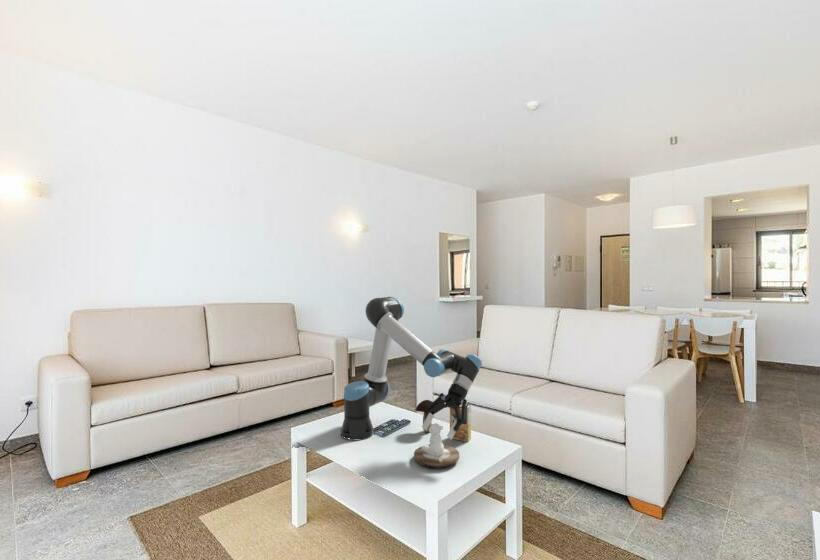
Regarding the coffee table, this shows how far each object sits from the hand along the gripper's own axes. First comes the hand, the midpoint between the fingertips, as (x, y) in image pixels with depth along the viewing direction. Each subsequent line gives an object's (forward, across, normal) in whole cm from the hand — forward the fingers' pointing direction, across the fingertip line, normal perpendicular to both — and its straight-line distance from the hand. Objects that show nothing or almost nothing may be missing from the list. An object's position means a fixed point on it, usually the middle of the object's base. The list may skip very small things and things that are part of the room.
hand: (436, 433), depth 160 cm
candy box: (-9, +7, -24) cm, 27 cm away
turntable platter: (+6, 0, -7) cm, 9 cm away
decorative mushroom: (-6, +23, -22) cm, 32 cm away
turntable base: (+8, 0, -8) cm, 11 cm away
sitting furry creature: (+6, +1, -6) cm, 8 cm away
